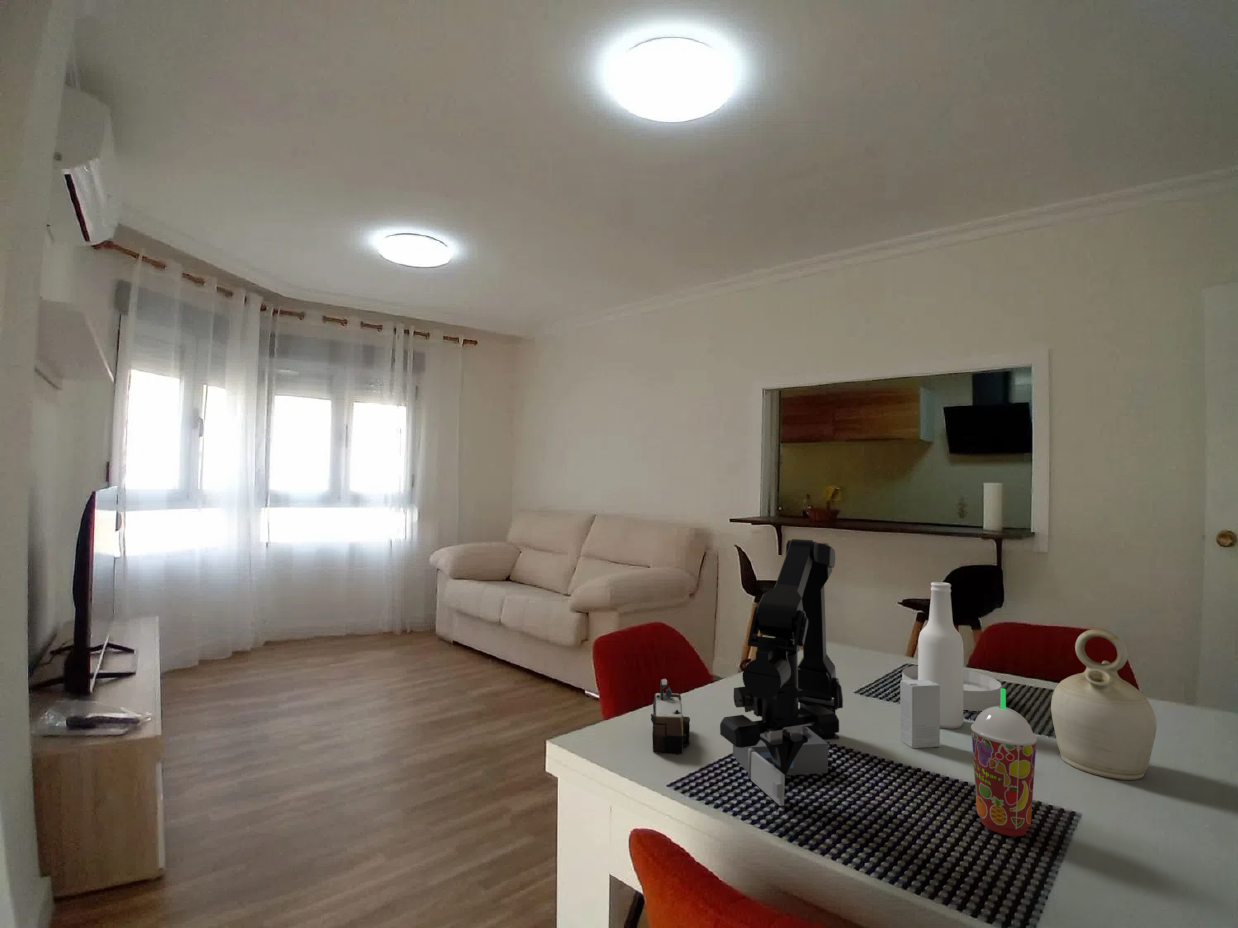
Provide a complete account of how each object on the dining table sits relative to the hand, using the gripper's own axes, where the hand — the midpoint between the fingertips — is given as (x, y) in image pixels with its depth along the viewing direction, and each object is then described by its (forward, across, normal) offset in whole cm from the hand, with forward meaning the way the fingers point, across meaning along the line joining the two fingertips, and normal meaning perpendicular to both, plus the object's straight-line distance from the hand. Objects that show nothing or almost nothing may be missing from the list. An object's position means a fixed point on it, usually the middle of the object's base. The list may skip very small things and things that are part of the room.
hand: (780, 779), depth 100 cm
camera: (+3, +8, -26) cm, 27 cm away
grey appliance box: (+3, -7, -11) cm, 13 cm away
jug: (+6, -65, +5) cm, 65 cm away
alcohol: (+5, -54, -21) cm, 58 cm away
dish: (+6, -71, -34) cm, 79 cm away
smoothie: (+4, -27, +17) cm, 32 cm away
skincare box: (+5, -39, -12) cm, 41 cm away
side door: (+3, +2, -2) cm, 4 cm away
